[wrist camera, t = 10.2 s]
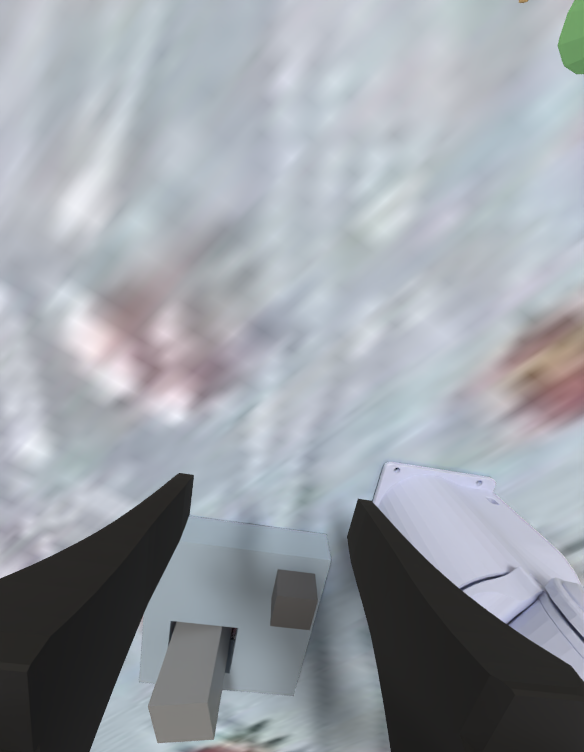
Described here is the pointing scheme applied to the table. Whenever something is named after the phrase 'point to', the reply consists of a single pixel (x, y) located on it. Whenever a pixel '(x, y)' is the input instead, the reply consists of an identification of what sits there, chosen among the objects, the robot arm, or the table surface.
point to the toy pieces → (572, 38)
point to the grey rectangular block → (190, 683)
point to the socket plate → (241, 599)
